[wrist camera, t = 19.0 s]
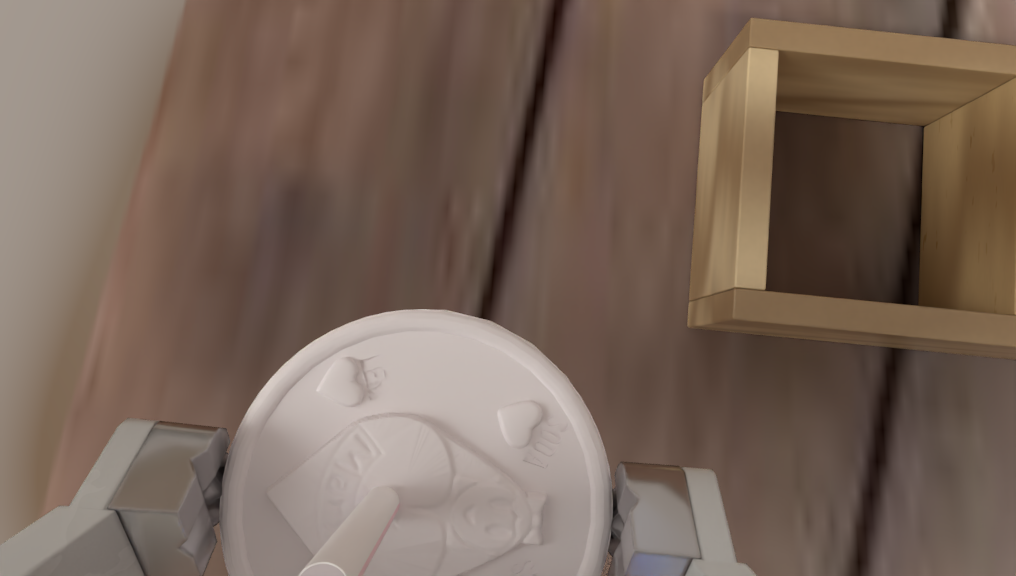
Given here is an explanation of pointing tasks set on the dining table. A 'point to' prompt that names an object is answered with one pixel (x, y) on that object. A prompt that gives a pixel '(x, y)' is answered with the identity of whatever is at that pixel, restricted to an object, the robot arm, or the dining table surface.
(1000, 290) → the rack
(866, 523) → the dining table surface
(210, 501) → the robot arm
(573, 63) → the dining table surface
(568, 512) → the smoothie
